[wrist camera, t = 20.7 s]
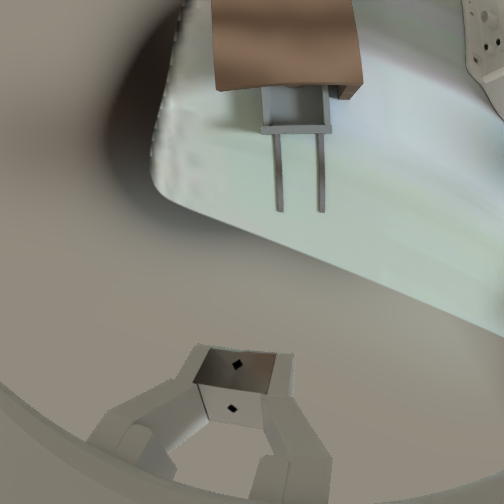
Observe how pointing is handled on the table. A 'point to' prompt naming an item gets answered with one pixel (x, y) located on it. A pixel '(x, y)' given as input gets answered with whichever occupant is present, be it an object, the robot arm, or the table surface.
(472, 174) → the table surface
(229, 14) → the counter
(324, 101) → the tray
